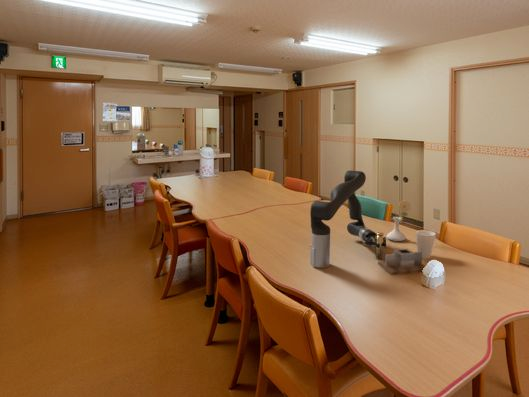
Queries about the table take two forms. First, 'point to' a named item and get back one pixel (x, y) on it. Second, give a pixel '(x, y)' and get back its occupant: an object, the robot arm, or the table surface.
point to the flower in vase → (397, 234)
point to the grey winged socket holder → (403, 258)
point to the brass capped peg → (380, 241)
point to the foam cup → (425, 242)
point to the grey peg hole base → (397, 270)
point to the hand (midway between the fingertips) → (382, 245)
